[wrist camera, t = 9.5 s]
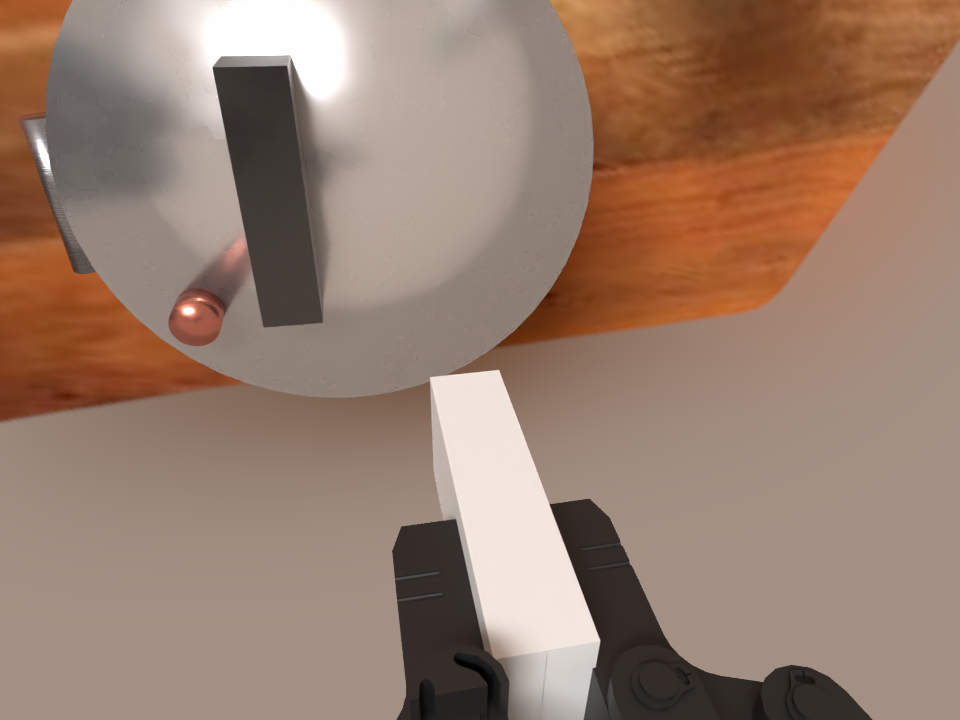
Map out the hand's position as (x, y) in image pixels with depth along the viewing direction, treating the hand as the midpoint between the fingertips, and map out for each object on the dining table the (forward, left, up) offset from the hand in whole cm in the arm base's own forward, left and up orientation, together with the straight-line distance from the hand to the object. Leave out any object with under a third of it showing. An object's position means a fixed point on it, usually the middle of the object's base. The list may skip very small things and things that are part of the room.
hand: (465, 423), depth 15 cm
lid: (-1, -3, -17) cm, 17 cm away
